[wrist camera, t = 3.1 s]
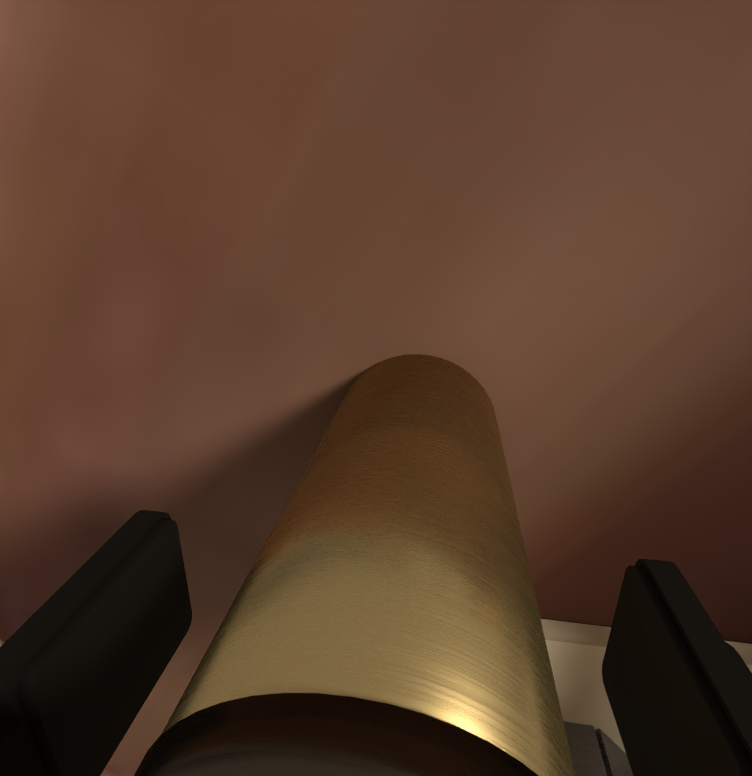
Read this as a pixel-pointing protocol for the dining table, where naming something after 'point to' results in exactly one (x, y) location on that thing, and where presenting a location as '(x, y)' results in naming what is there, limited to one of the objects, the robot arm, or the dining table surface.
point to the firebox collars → (595, 752)
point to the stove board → (589, 673)
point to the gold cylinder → (383, 608)
